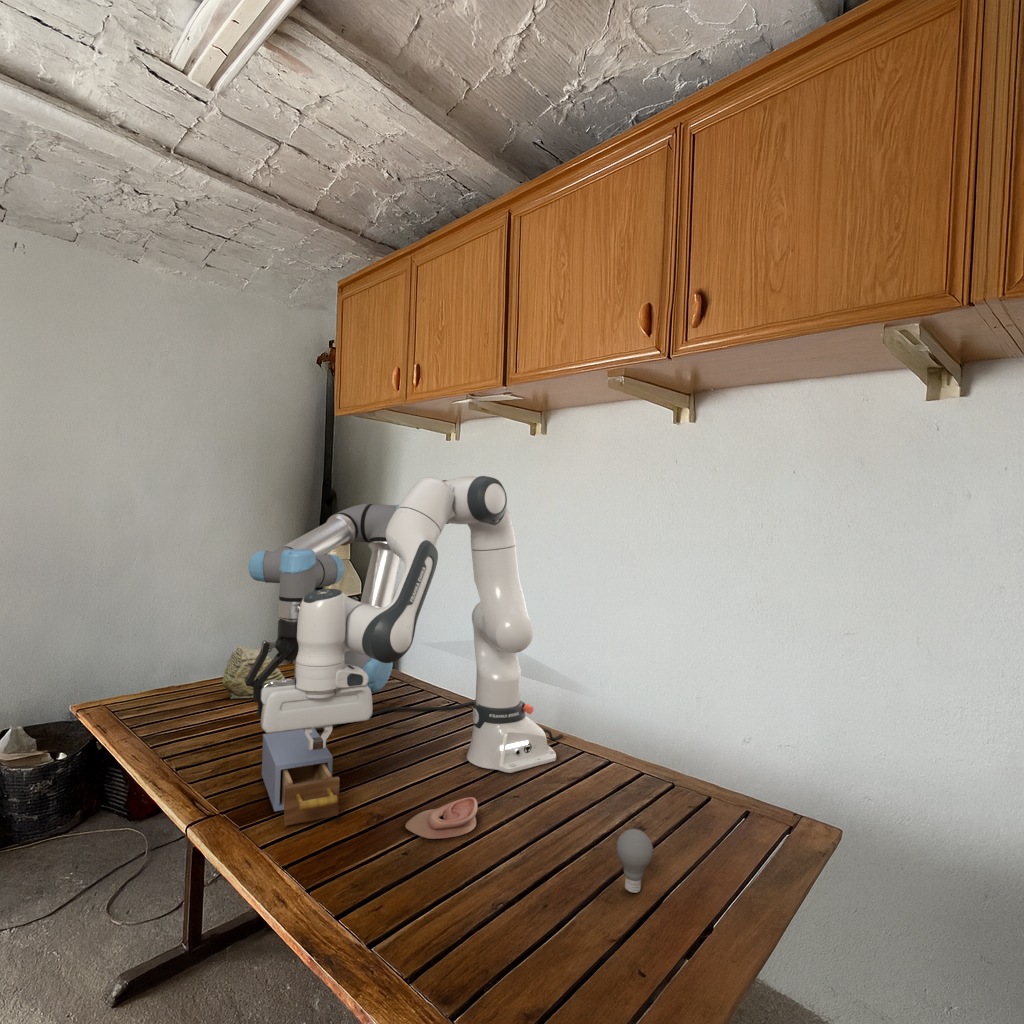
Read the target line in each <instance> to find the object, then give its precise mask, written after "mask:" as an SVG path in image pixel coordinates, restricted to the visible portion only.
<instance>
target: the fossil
mask: <svg viewBox="0 0 1024 1024" xmlns="http://www.w3.org/2000/svg"><path fill="white" fill-rule="evenodd" d="M260 651H261V648H260V647H258V648H251V647H247V646H246V647H245V646H238V647H237V648H236V649H235V650H233V651H232V653H231V656H230V657H229V659H228V660H227V663H226V666H225V668H224V671H223V675H222V676H223V677H222V685H223V687H224V688H225V690H226V691H228V693H229V698H230V699H250V698H252V699H253V687H251V686H247V685H246V684H245V678H246V677H247V675H248V673H249V671H250V669H251V668H252V666H253V664H254V662H255V660H256V658H257V657H258V655H259V653H260ZM272 660H273V659H272V658H271V657H270V656H269V654H268V655H267V657H266V659H265V661H264V662H263V664H262V666H261V668H260V670H259V672H258V673H257V675H256V677H255V679H256V678H257V677H258V676H259V675H260V674H261V672H262V671H263V670H264V669H265V668H266V667H267V666H268V664H269V663H270V662H271V661H272ZM255 679H254V680H255ZM284 679H286V678H285V676H284V674H283V673H282V672H281V669H279V668H278V667H277V668H276V669H275V670H274V671H273V673H272V674H271V675H270V676H269V677H268V678H267V679H266V681H265V682H264V683H263V684H262V685H263V686H264V685H266V684H267V683H270V681H272V680H284ZM268 686H270V685H268ZM268 686H267V687H268Z"/></svg>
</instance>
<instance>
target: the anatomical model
mask: <svg viewBox="0 0 1024 1024" xmlns="http://www.w3.org/2000/svg"><path fill="white" fill-rule="evenodd" d="M478 805H479V804H478V801H477V799H476V798H475V797H471V796H469V797H464V798H460V799H457V800H454V801H452V802H449V803H446V804H444V805H442V806H440V807H437V808H435V809H427V810H424V811H421V812H419V813H417V814H416V815H413V816H412V817H411V818H410V819H409V820H408V821H407V822H406V823H405V825H404V827H405V829H406V830H408V831H409V832H411V833H413V834H415V835H416V836H418V837H422V838H424V839H427V840H428V839H430V840H437V839H438V840H439V839H449V838H455V837H459V836H463V835H466V834H468V833H470V832H472V831H473V830H474V829H475V828H476V826H477V818H476V815H477V813H478V807H479V806H478Z"/></svg>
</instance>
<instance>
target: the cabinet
mask: <svg viewBox="0 0 1024 1024" xmlns="http://www.w3.org/2000/svg"><path fill="white" fill-rule="evenodd" d="M309 734H310V735H311V737H312V738H317V737H321V735H320V734H319V733H318V732H317V731H316V730H315V728H313V732H312V733H309ZM333 761H334V757H333V755H332V754H331V752H330V750H329V748H328V747H327V746H326V748H324V749H316V750H309V748H308V738H307V737H306V735H305V733H304V731H303V729H299V730H290V731H282V732H275V733H263V734H262V755H261V777H262V780H263V783H264V787H265V788H266V791H267V794H268V797H269V800H270V803H271V806H272V810H273V812H279V811H280V812H281V811H284V806H283V804H282V801H281V798H280V780H281V770H283V769H289V768H296V767H302V766H308V765H314V764H321V763H325V765H326V766H327V768H328V770H329V772H330V773H331V775H332V776H333V766H334V765H333Z"/></svg>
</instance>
